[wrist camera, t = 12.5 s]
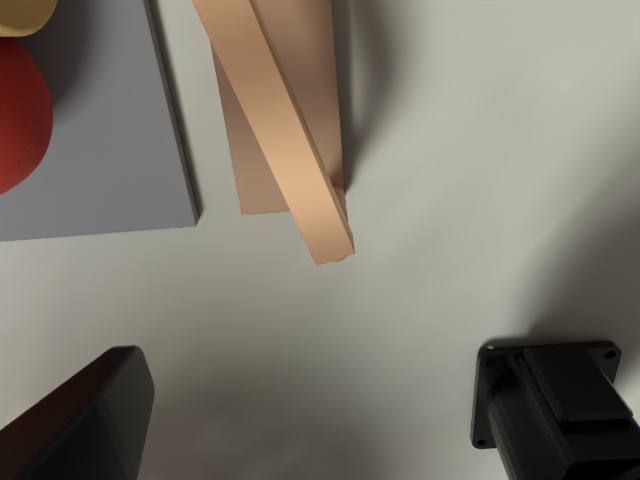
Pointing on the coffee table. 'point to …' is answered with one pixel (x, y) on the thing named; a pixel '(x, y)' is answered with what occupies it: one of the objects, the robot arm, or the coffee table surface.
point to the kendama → (22, 93)
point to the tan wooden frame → (283, 113)
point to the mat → (102, 129)
